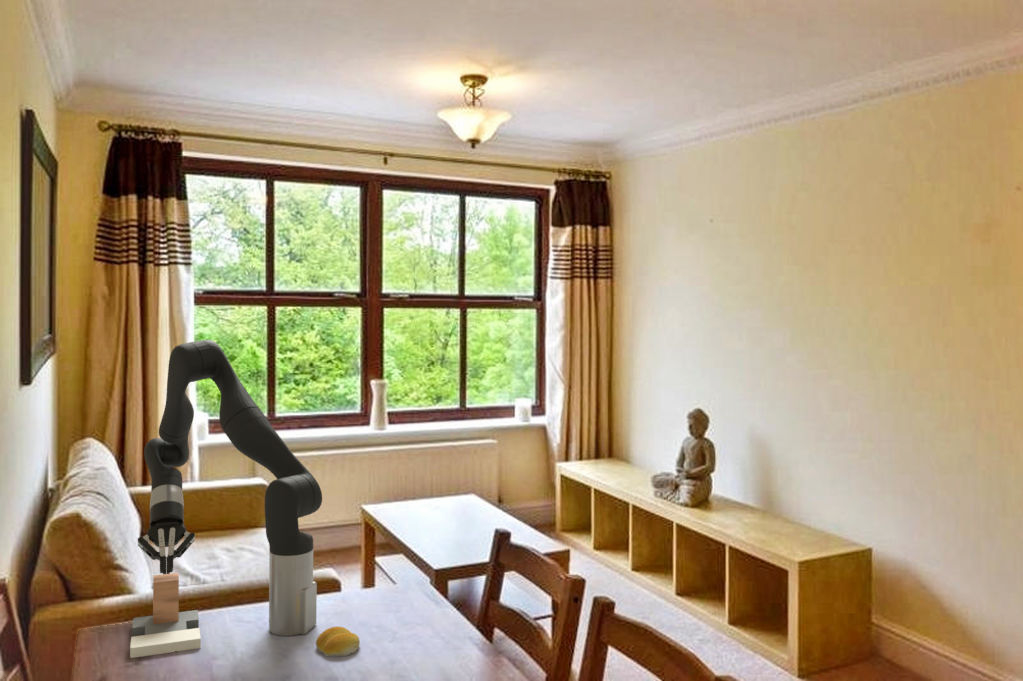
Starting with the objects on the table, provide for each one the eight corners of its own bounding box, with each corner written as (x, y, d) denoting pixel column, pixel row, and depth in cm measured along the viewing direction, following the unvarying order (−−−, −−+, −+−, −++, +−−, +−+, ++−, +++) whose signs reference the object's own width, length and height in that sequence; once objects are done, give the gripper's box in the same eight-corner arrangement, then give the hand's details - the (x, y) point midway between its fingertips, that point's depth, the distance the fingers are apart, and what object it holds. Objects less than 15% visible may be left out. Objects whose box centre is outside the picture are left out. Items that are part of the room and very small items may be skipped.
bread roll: (331, 662, 158) (331, 642, 158) (310, 647, 165) (310, 628, 165) (368, 650, 163) (368, 631, 163) (346, 637, 170) (346, 618, 170)
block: (153, 616, 175) (153, 575, 174) (178, 613, 177) (178, 572, 176) (153, 624, 170) (153, 582, 170) (178, 621, 172) (178, 579, 172)
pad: (131, 646, 163) (131, 636, 163) (199, 637, 169) (199, 627, 169) (130, 658, 158) (130, 648, 158) (200, 648, 163) (200, 638, 163)
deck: (133, 627, 174) (133, 617, 173) (197, 618, 179) (197, 609, 179) (131, 646, 163) (131, 636, 163) (199, 637, 169) (199, 627, 169)
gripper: (136, 501, 188) (134, 568, 177) (196, 497, 193) (198, 562, 182) (137, 518, 193) (135, 585, 182) (195, 514, 198) (197, 578, 187)
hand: (166, 573), depth 182 cm, fingers closed
